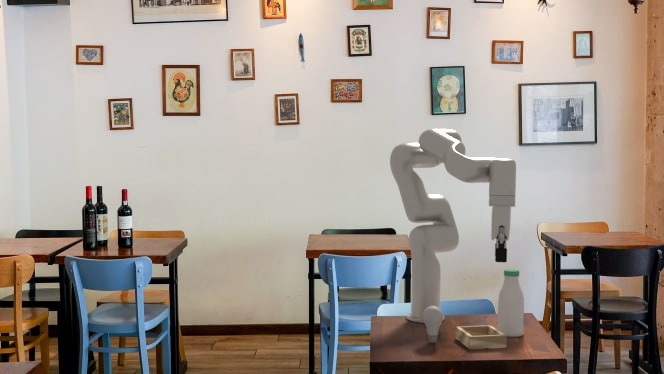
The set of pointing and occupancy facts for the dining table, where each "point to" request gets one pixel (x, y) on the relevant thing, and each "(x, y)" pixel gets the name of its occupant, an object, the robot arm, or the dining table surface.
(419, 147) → the robot arm
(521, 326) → the milk bottle
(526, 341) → the dining table surface
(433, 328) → the lightbulb
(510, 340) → the dining table surface
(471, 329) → the holder
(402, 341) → the dining table surface
